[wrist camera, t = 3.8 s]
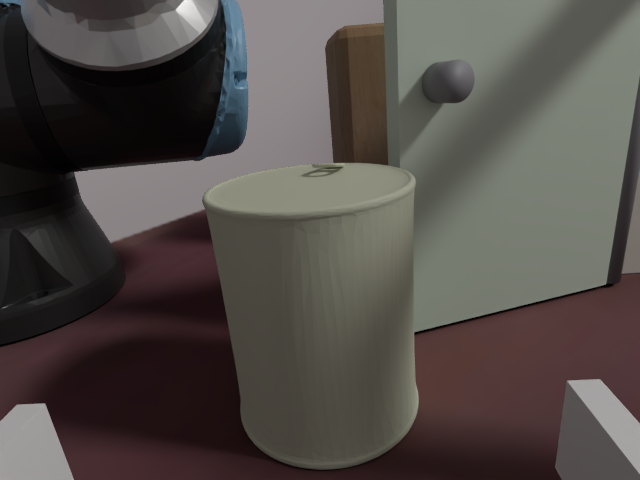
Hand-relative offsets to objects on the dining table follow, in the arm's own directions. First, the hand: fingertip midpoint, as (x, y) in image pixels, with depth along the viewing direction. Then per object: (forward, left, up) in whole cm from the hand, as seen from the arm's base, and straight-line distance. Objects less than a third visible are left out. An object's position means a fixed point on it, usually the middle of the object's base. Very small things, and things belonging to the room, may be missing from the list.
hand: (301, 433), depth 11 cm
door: (+13, +18, -7) cm, 23 cm away
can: (0, +10, -7) cm, 12 cm away
